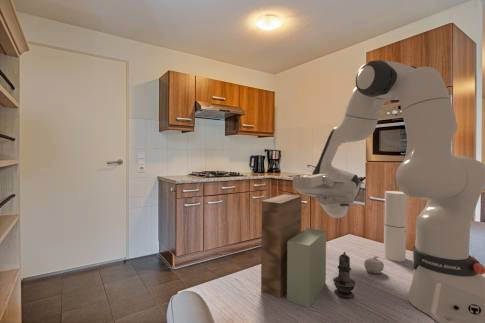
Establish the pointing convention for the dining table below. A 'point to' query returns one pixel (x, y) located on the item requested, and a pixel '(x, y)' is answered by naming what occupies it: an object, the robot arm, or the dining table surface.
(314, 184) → the beige rectangular bar
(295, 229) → the tall stand
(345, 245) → the dining table surface
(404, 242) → the cylindrical container
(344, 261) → the stone chess bishop
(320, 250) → the olive grey block
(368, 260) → the garlic
